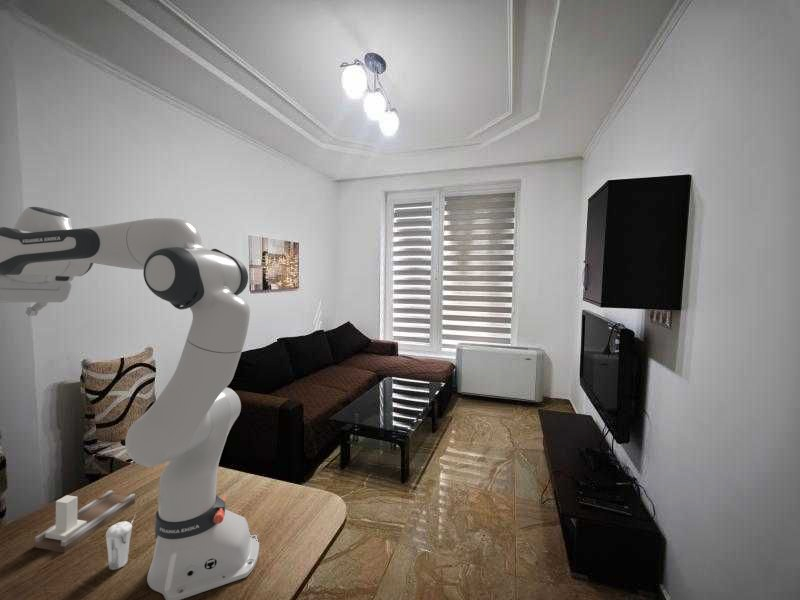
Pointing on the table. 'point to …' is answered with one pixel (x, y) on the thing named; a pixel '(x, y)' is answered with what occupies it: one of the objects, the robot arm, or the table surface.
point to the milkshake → (118, 544)
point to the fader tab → (65, 519)
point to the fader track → (88, 520)
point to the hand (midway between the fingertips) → (6, 315)
